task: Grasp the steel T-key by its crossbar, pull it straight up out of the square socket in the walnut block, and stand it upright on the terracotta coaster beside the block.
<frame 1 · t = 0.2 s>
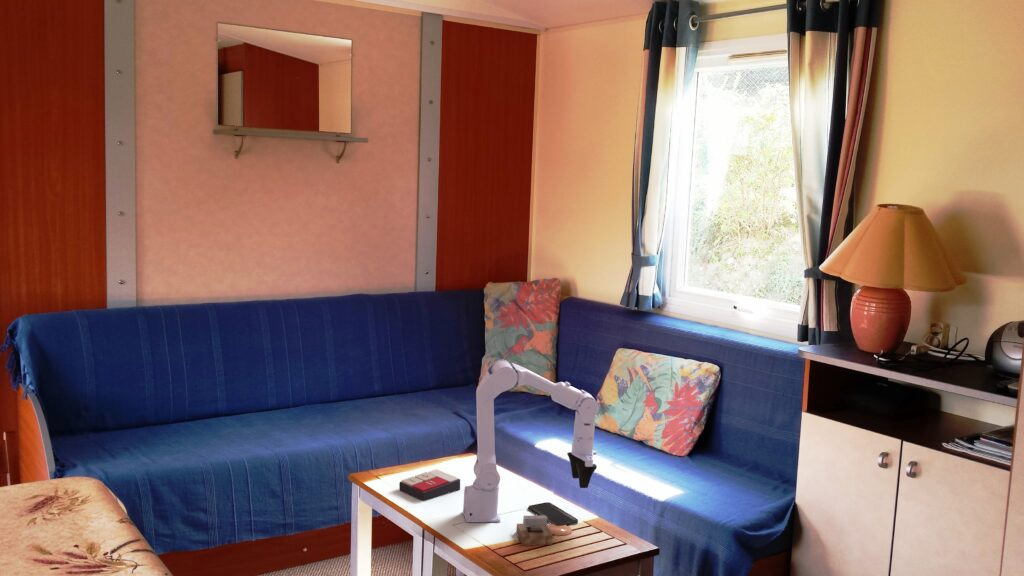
hand: (579, 482, 252), 10 cm above the table, tool pointing down, fingers open, 7 cm apart
socket block: (534, 538, 236), on the table
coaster: (558, 530, 243), on the table
t key: (534, 527, 236), in the socket block
black red flat box: (429, 492, 267), on the table
phone: (552, 517, 253), on the table
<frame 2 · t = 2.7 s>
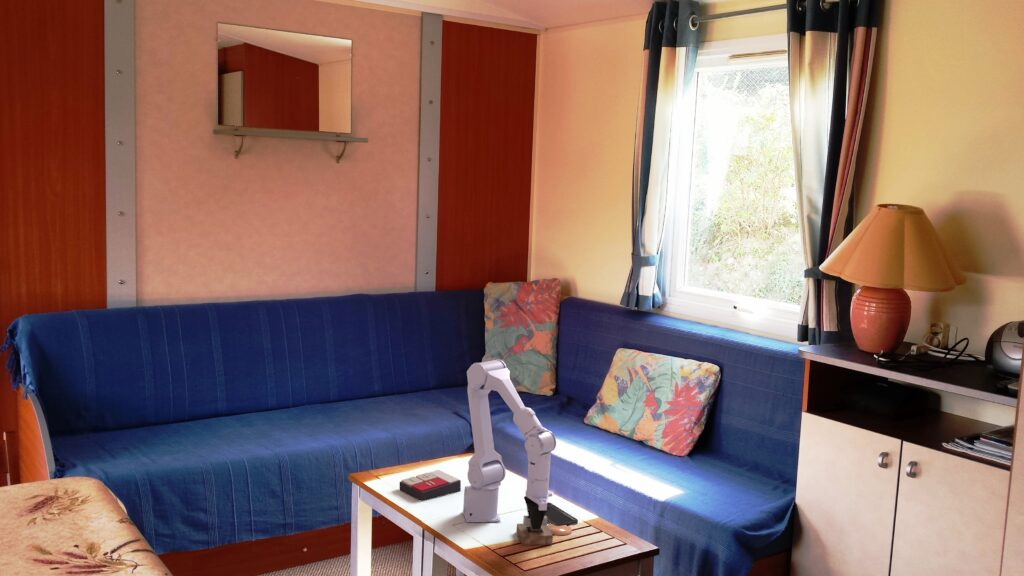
hand: (534, 526, 236), 3 cm above the table, tool pointing down, fingers closed on t key, 3 cm apart
t key: (534, 527, 236), in the socket block, touching gripper
everything else where it was.
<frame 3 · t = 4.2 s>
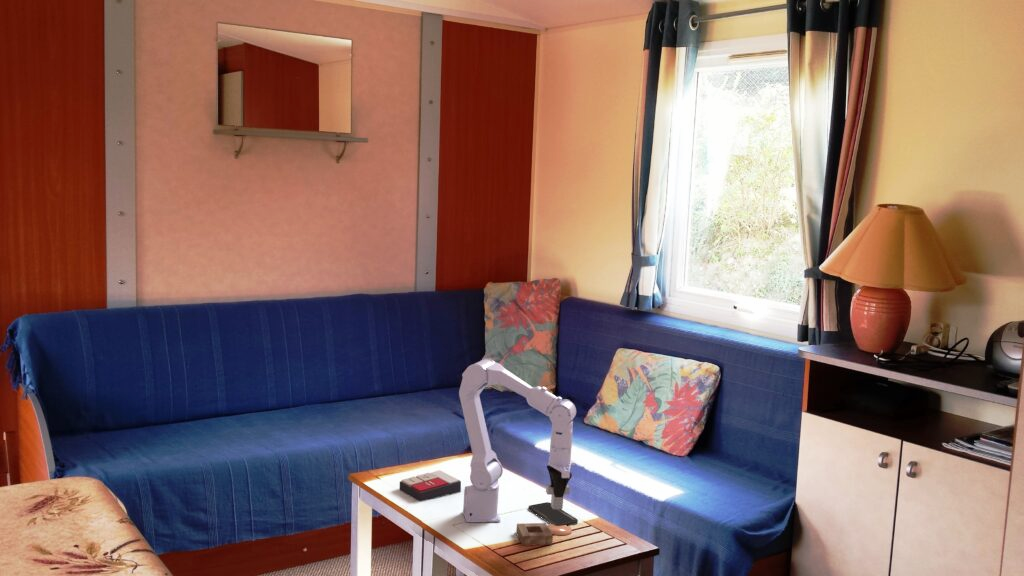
hand: (557, 494, 240), 10 cm above the table, tool pointing down, fingers closed on t key, 3 cm apart
t key: (557, 496, 240), point 10 cm above the table, touching gripper
everything else where it was.
when the fingers open (5 cm above the table, at t = 5.7 s): t key stays where it is, resting on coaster.
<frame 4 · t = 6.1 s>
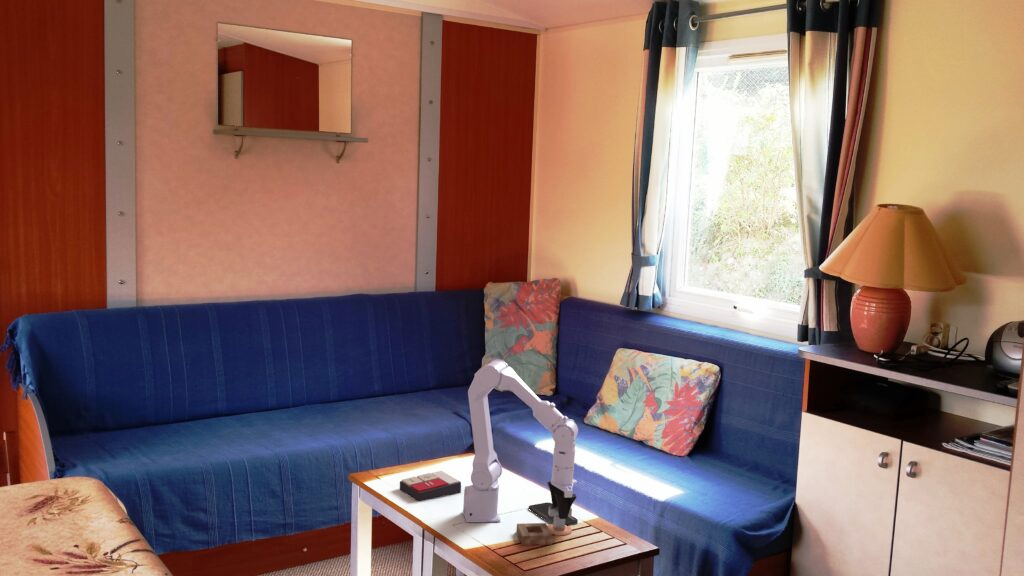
hand: (559, 513, 242), 5 cm above the table, tool pointing down, fingers open, 6 cm apart
t key: (559, 518, 242), on the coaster
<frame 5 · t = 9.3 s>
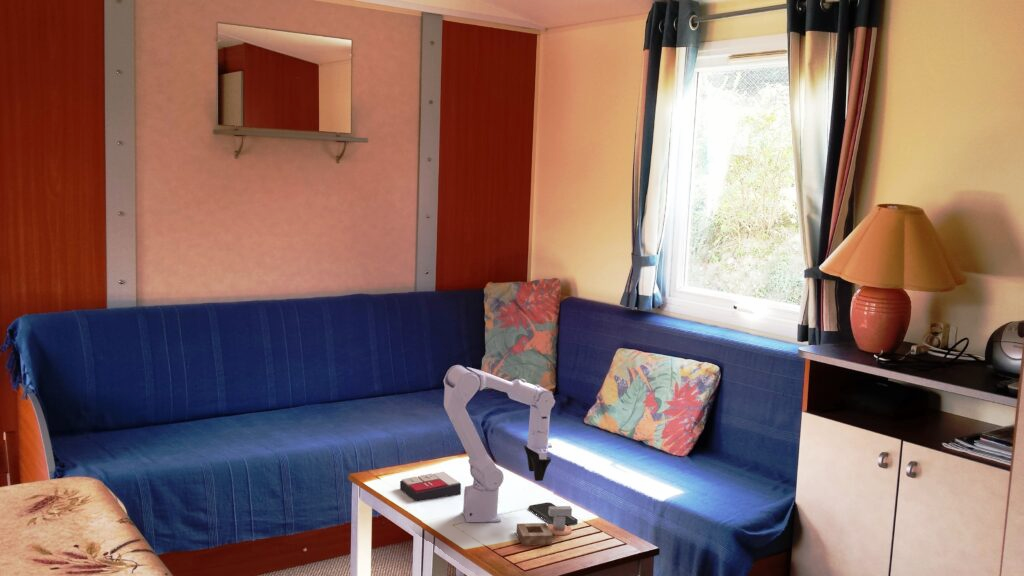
hand: (535, 475, 254), 10 cm above the table, tool pointing down, fingers open, 7 cm apart
at the end: t key 0.0 cm off-centre on the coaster, point 3.4 cm above the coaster's base; t key tilted 0°; the gripper is holding nothing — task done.
